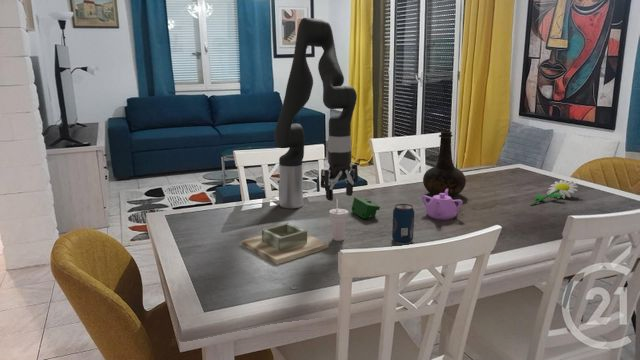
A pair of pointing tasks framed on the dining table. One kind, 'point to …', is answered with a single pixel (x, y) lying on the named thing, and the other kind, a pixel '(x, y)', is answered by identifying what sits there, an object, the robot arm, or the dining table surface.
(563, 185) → the decorative flower
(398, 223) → the soda can
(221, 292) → the dining table surface
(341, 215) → the smoothie
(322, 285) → the dining table surface
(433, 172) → the glass bottle
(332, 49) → the robot arm
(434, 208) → the teapot
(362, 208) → the toy dumpster
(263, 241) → the collar stand
